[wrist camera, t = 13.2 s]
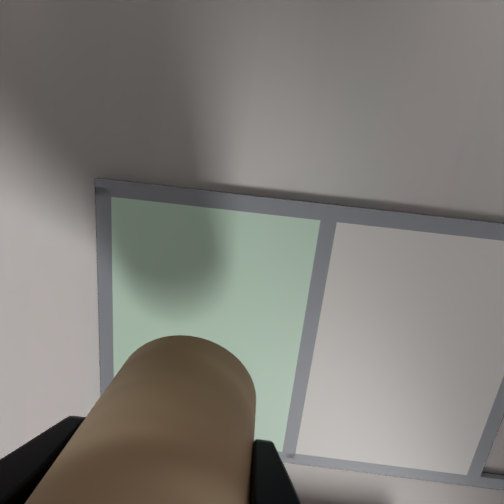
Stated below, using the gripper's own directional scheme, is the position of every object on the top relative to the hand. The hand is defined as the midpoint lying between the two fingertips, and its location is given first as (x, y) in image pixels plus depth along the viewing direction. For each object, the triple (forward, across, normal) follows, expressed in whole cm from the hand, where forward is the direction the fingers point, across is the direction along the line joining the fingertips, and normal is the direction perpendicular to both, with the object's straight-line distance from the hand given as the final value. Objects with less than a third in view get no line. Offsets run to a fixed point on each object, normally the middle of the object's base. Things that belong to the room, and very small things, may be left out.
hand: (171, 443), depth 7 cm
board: (+4, -7, 0) cm, 8 cm away
